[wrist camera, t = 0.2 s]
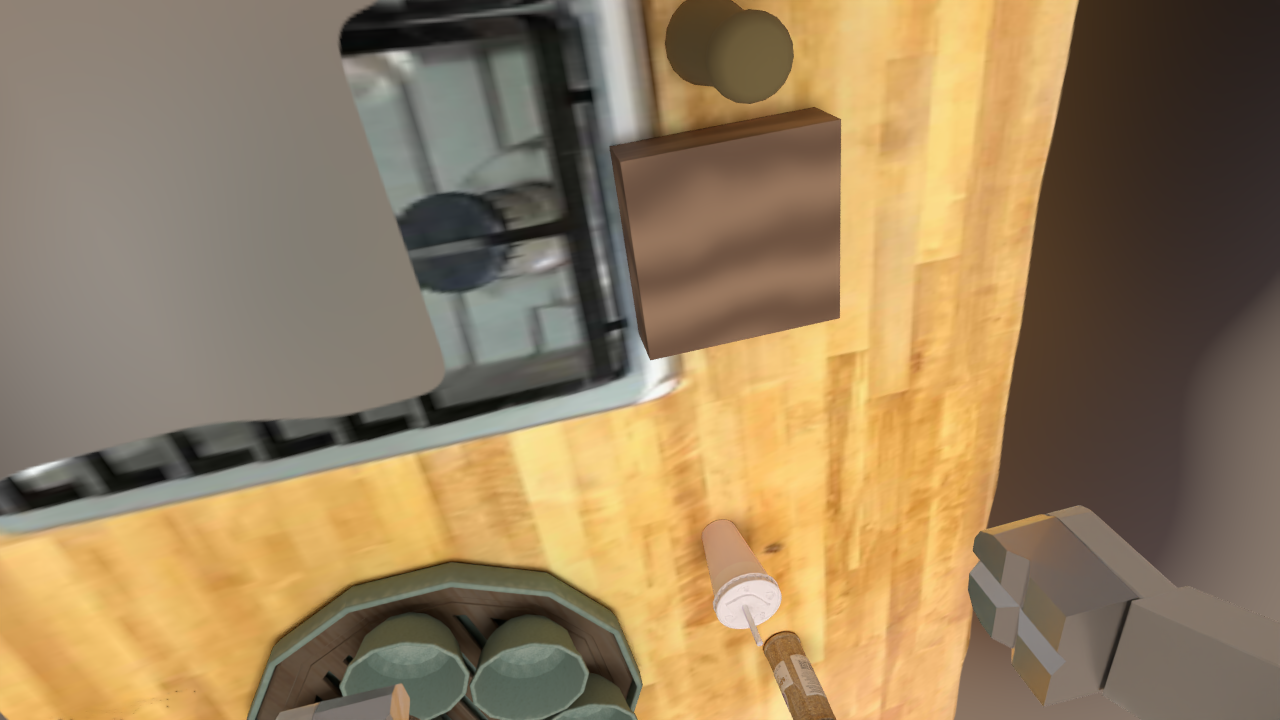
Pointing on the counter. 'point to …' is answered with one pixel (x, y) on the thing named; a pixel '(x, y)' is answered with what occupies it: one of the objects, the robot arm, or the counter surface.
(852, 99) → the counter surface
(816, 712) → the sprinkles bottle
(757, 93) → the brown tall round piece
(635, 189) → the block
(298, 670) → the tea set
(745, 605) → the smoothie
